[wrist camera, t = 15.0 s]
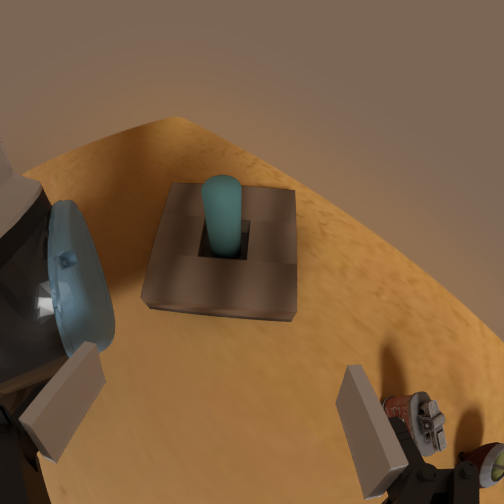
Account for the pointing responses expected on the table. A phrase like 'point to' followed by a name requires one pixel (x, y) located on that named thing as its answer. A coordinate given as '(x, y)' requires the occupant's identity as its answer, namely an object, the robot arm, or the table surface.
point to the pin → (223, 215)
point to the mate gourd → (487, 463)
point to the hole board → (225, 270)
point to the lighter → (419, 420)
